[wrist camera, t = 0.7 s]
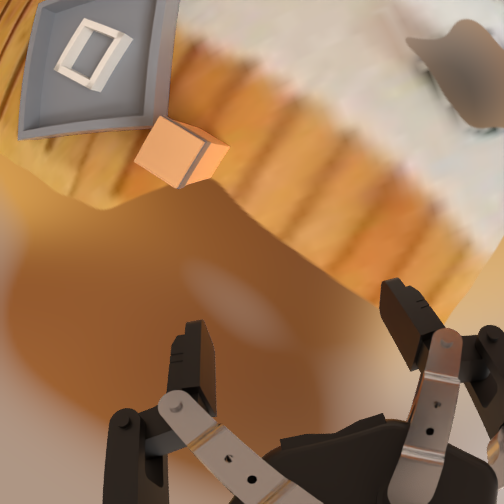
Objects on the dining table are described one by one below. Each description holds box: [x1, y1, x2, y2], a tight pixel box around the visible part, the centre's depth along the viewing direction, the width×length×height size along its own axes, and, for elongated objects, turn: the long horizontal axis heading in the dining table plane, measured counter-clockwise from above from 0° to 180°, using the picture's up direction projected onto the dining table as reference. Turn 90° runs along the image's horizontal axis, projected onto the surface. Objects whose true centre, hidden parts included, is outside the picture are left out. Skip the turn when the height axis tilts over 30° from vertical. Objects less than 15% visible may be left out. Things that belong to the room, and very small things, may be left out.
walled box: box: [18, 0, 180, 140], centre depth 32 cm, size 22×22×4 cm
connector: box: [134, 115, 230, 189], centre depth 31 cm, size 5×5×13 cm
